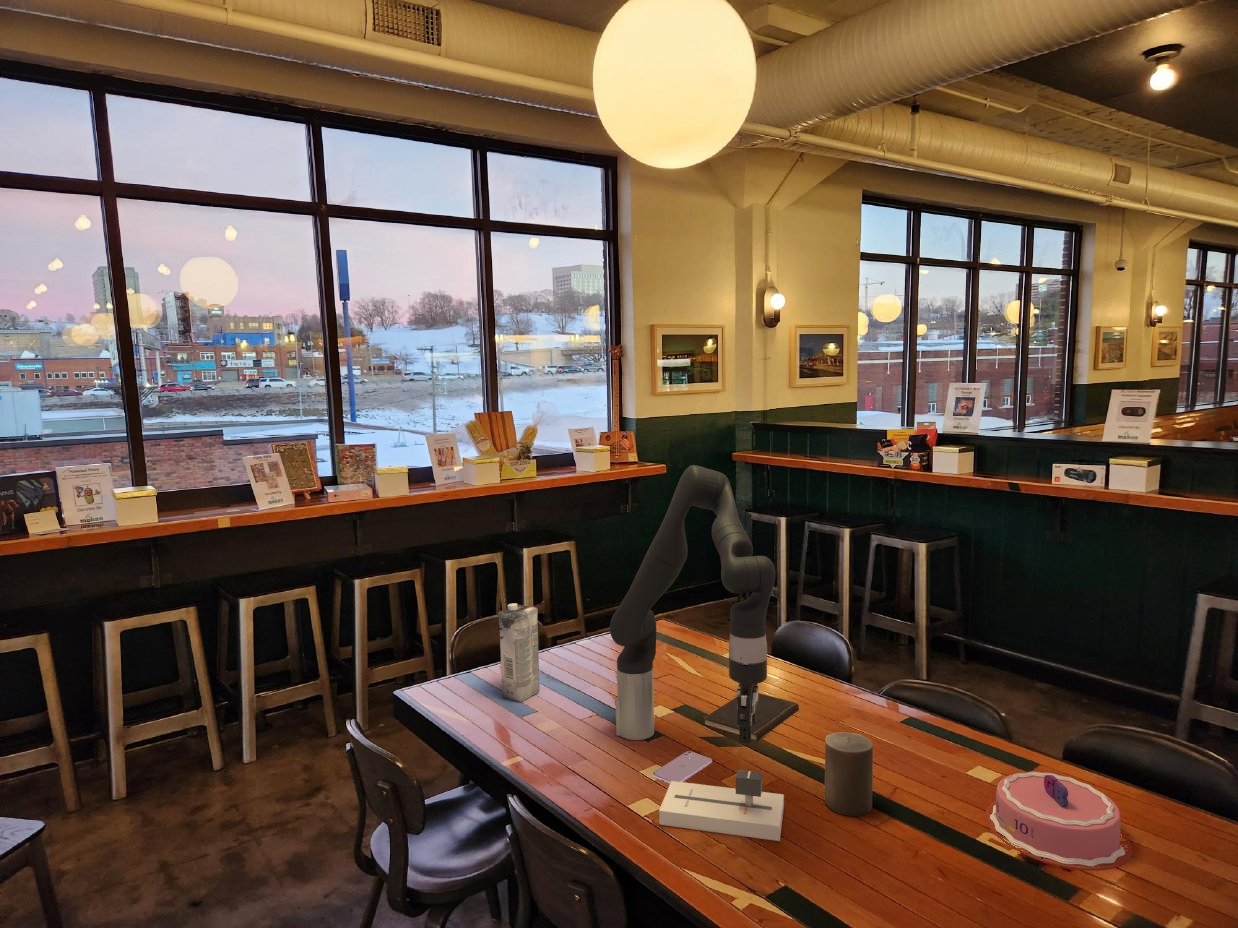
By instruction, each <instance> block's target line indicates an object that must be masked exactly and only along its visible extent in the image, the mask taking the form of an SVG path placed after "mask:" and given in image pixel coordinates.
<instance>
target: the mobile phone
mask: <svg viewBox="0 0 1238 928" xmlns="http://www.w3.org/2000/svg"><path fill="white" fill-rule="evenodd" d="M712 763H713V760H712V758H710V757H708V756H705V755H703V754H699V753H697V752H694V751H691V750H690V751H688V750H687V751H685V752H684V753H682V754H680V755H679V756H677V757H676V758H674V759H671V761H669V762H668V763H666V764H665V765H663V766H662V767H659V768H658V769H657V770H655V771H653V772H652V774H651V777H652V778H654V779H656V780H659V781H661V782H663V783H666V784H668V785H670V783H671V781H676V782H685V781H686V780H688V779H690V778H691V777H693V776H694V775H696V773H698V772H700V771H701V770H703V769H704V768H706V767H707V766H709V765H710V764H712Z"/></svg>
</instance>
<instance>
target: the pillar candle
mask: <svg viewBox="0 0 1238 928" xmlns="http://www.w3.org/2000/svg"><path fill="white" fill-rule="evenodd" d="M824 743H825V745H824V747H825V748H824V803H825V805H826V806H827V807H828V808H829V809H830V810H831V811H833V812H835V813H837V814H840V815H843V816H849V817H850V816H851V817H860V816H861V817H862V816H865V815H867V814H869V813H870V812H871V811H872V809H873V772H874V771H873V768H874V766H873V761H874V759H873V758H874V757H873V754H874V753H873V751H874V749H873V748H874V745H873V742H872V741H871V740H870V739H869V738H867V737H866V736H864V735H863V734H859V733H855V732H848V731H847V732H846V731H845V732H843V731H840V732H833V733H829V734H827V735H826V736H825V740H824Z"/></svg>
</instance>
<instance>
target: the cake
mask: <svg viewBox="0 0 1238 928" xmlns="http://www.w3.org/2000/svg"><path fill="white" fill-rule="evenodd" d="M992 806H993V810H991V808H992ZM990 810H991V811H993V812H990V813H992V814H990V815H989V811H990ZM989 816H990V817H989ZM989 818H990V819H991V820H989ZM984 821H985V823H987V824H986V825H988V826H987V827H988V829H989V828H990V829H989V830H990V832H991V833H992V832H993V833H994V834H995V835H996V836H997V837H998V838H997V837H996V836H995V835H994V834H993V833H992V834H993V835H994V836H995V837H996V838H997V839H999V838H1000V839H1001V840H1002V841H1003V842H1002V841H1001V840H1000V839H999V840H1000V841H1001V842H1002V843H1004V842H1005V843H1006V844H1007V845H1006V844H1005V843H1004V844H1005V845H1006V846H1008V845H1009V846H1008V847H1010V846H1011V847H1012V848H1011V847H1010V848H1011V849H1013V850H1015V851H1016V850H1017V852H1018V851H1019V852H1018V853H1020V854H1022V853H1023V854H1022V855H1024V856H1026V855H1027V857H1028V858H1030V859H1031V858H1032V859H1034V860H1037V861H1040V862H1042V861H1043V862H1042V863H1045V864H1048V863H1049V864H1048V865H1052V866H1055V865H1056V867H1061V866H1062V867H1061V868H1066V869H1071V870H1080V871H1105V870H1106V871H1107V870H1111V869H1115V868H1118V867H1121V866H1122V865H1125V864H1126V863H1127V862H1128V861H1129V860H1130V859H1131V857H1132V855H1133V847H1132V843H1131V841H1130V838H1129V837H1128V835H1127V834H1126V833H1125V832H1124V831H1123V830H1122V829H1121V826H1122V825H1121V822H1122V821H1121V811H1120V809H1119V807H1118V805H1116V803H1115V802H1114V801H1113V800H1112V799H1111V798H1110V797H1109V796H1107V795H1106V794H1104V793H1103V792H1101V791H1100V790H1099V789H1097V788H1095V787H1093V786H1092V785H1090V784H1088V783H1084V782H1081V781H1079V780H1076V779H1074V778H1073V777H1070V776H1064V775H1059V774H1056V773H1051V772H1039V771H1028V772H1017V773H1013V774H1010V775H1007V776H1005V777H1003V778H1002V779H1001V780H1000V781H999V782H998V784H997V787H996V793H995V800H994V801H992V802H991V803H989V804H988V806H987V807H986V809H985V812H984ZM991 821H993V822H991ZM991 823H994V825H995V829H996V830H995V829H994V828H992V827H993V826H994V825H991ZM996 832H999V833H1000V834H1002V835H1003V836H1005V837H1006V838H1007V839H1008V840H1009V842H1010V843H1008V842H1007V841H1005V840H1004V839H1003V838H1001V837H1000V835H998V834H997V833H996ZM1120 834H1122V837H1123V839H1125V840H1126V841H1120V837H1121V835H1120ZM1011 843H1012V844H1013V845H1015V846H1017V847H1021V848H1016V847H1015V846H1013V845H1011ZM1121 844H1122V845H1123V846H1120V845H1121ZM1125 844H1126V845H1128V846H1127V847H1128V848H1126V847H1125V846H1124V845H1125ZM1123 847H1125V848H1123ZM1022 850H1027V851H1022ZM1126 850H1128V851H1126ZM1028 852H1030V853H1031V854H1030V853H1028ZM1041 857H1043V859H1041ZM1046 858H1048V859H1046ZM1060 863H1061V864H1060ZM1078 866H1080V867H1078ZM1092 866H1094V867H1092ZM1098 866H1099V867H1098Z"/></svg>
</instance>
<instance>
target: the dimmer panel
mask: <svg viewBox="0 0 1238 928" xmlns="http://www.w3.org/2000/svg"><path fill="white" fill-rule="evenodd" d="M784 800H785V794H783V793H782V794H781V793H774V792H767V791H766V792H765V791H762V793H761V797H757V796H753V806H751V807H749V806H746V805H745V795H741V794H736V788H733V787H724V786H716V785H708V784H700V783H692V782H691V783H690V782H685V781H684V782H676V781H671V783H670V784H669V785H668V788H667V790H666V792H665V795H664V798H663V800H662V802H661V805H660V807H659V810H658V820H659V823H658V824H659V825H661V826H667V827H675V828H682V829H689V830H695V831H696V830H697V831H703V832H710V833H717V834H718V833H719V834H726V835H732V836H740V837H746V838H747V837H748V838H754V839H761V840H769V841H776V842H781V835H782V834H781V833H782V826H783V817H784V809H785V801H784Z"/></svg>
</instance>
